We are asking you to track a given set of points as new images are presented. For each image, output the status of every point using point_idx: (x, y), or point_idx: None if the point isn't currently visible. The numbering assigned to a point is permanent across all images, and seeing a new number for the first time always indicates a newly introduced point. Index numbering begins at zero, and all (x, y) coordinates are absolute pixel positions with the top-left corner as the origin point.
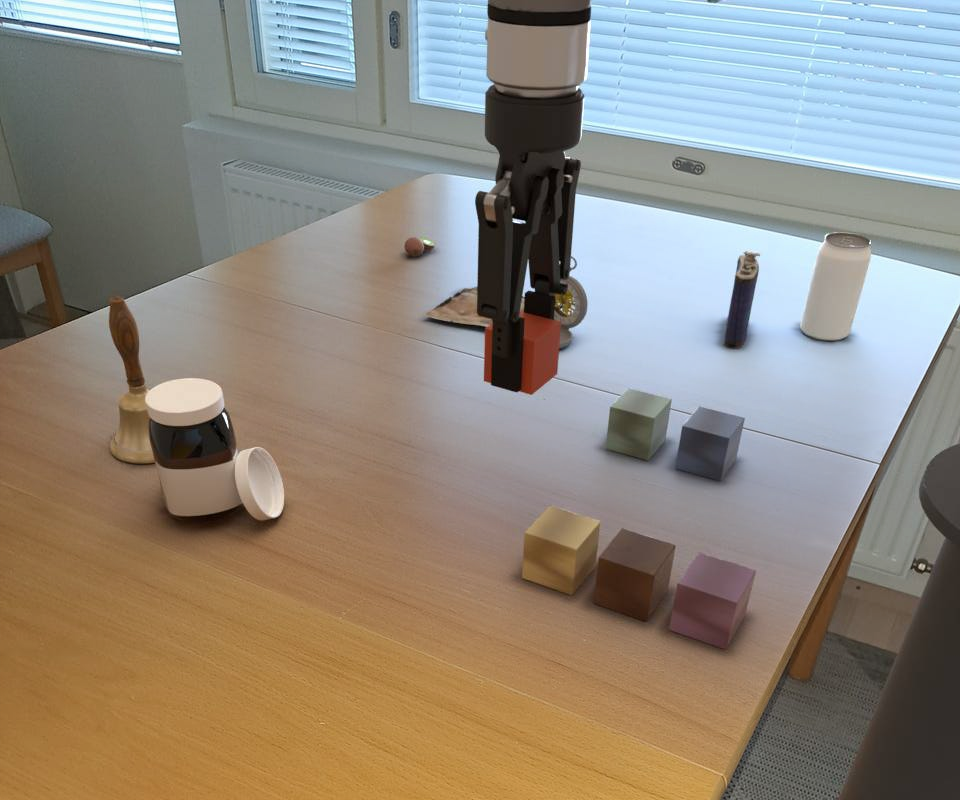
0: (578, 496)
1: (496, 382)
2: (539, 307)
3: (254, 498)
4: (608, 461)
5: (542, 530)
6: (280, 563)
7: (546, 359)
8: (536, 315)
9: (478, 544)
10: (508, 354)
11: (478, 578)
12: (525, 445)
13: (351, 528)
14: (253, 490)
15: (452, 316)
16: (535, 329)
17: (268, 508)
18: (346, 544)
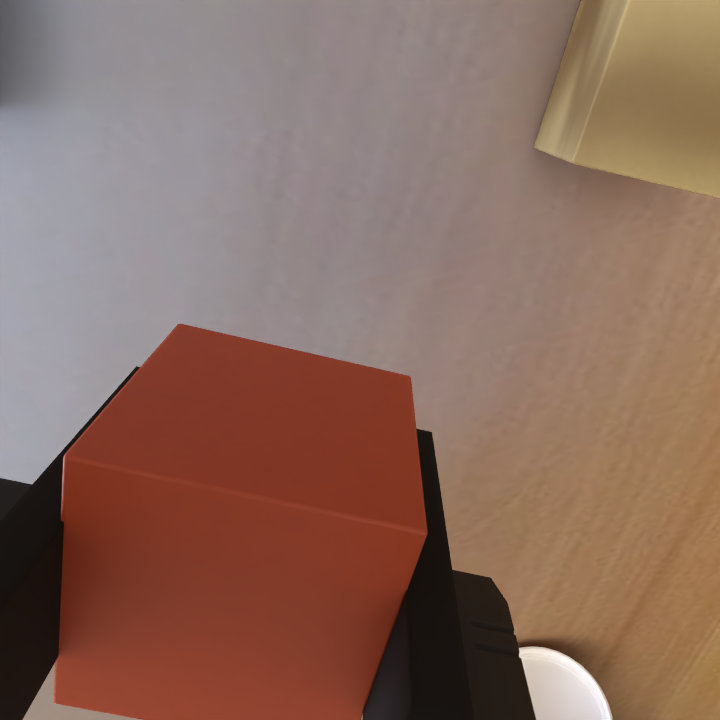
0: (267, 127)
1: None
2: (31, 627)
3: (611, 716)
4: (58, 84)
5: (711, 151)
6: (665, 598)
7: (278, 403)
8: (60, 595)
9: (540, 306)
10: (477, 588)
11: (668, 271)
12: (93, 318)
13: (537, 537)
14: (552, 718)
15: None
16: (257, 563)
17: (524, 666)
18: (590, 528)
